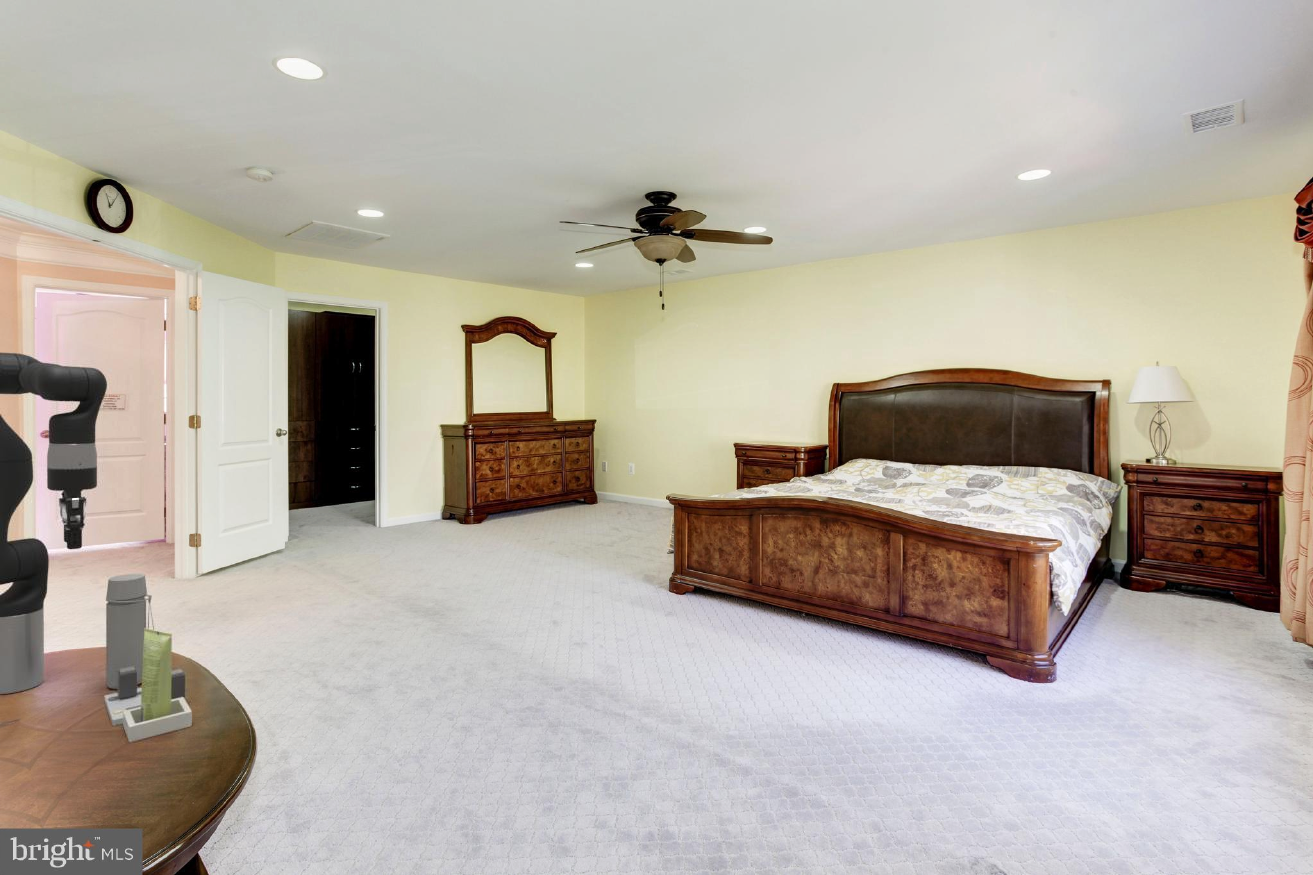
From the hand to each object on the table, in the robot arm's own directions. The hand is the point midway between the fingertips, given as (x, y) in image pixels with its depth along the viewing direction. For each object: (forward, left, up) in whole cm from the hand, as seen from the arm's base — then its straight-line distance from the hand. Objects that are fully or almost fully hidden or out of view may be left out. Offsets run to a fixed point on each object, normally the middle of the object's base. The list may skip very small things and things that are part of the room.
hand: (72, 545), depth 133 cm
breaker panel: (+1, +11, -36) cm, 38 cm away
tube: (+14, +12, -36) cm, 41 cm away
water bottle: (-14, +11, -36) cm, 40 cm away
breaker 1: (-3, +9, -34) cm, 36 cm away
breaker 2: (+5, +16, -34) cm, 38 cm away
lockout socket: (+14, +12, -36) cm, 40 cm away
